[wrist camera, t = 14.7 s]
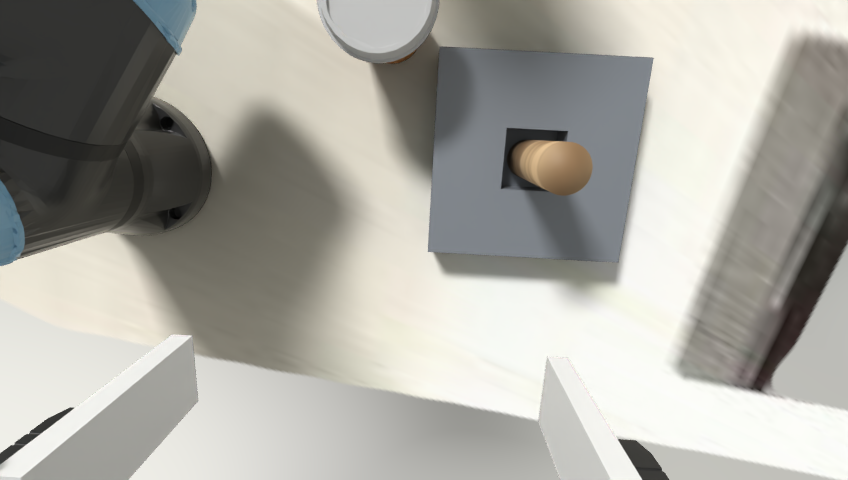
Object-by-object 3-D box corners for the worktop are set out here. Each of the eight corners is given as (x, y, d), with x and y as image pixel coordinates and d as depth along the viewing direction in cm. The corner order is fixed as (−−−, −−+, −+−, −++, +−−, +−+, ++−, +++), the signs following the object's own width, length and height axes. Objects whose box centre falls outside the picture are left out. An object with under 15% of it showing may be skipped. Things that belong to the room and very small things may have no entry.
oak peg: (505, 176, 45) (535, 194, 32) (509, 138, 44) (542, 140, 31) (542, 178, 45) (588, 197, 32) (546, 140, 44) (596, 143, 31)
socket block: (428, 242, 48) (427, 251, 44) (439, 54, 43) (439, 46, 39) (603, 252, 48) (618, 262, 44) (633, 64, 43) (653, 57, 39)
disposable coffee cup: (370, -41, 41) (346, -111, 30) (455, 9, 42) (463, -39, 30) (329, 51, 43) (291, 20, 32) (410, 97, 44) (402, 83, 33)
